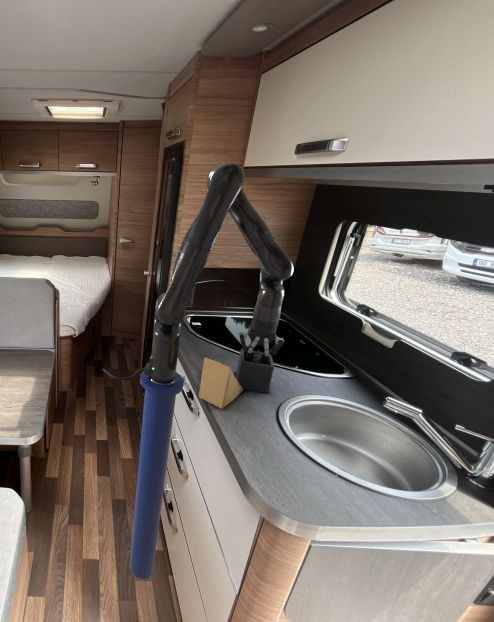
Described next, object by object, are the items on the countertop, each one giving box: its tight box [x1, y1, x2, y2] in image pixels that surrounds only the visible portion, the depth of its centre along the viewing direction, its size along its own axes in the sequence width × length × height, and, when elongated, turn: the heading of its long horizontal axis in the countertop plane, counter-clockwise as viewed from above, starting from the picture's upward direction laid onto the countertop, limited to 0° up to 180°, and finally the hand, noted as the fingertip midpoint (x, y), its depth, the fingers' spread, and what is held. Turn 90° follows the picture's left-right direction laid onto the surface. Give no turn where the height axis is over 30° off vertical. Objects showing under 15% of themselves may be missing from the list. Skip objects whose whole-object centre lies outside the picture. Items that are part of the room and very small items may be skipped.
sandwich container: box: [198, 357, 244, 410], centre depth 110 cm, size 9×15×15 cm, turn 131°
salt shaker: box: [250, 349, 262, 364], centre depth 116 cm, size 6×6×12 cm
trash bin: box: [235, 348, 275, 394], centre depth 117 cm, size 10×10×10 cm
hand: (255, 362), depth 115 cm, fingers closed on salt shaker, 3 cm apart
